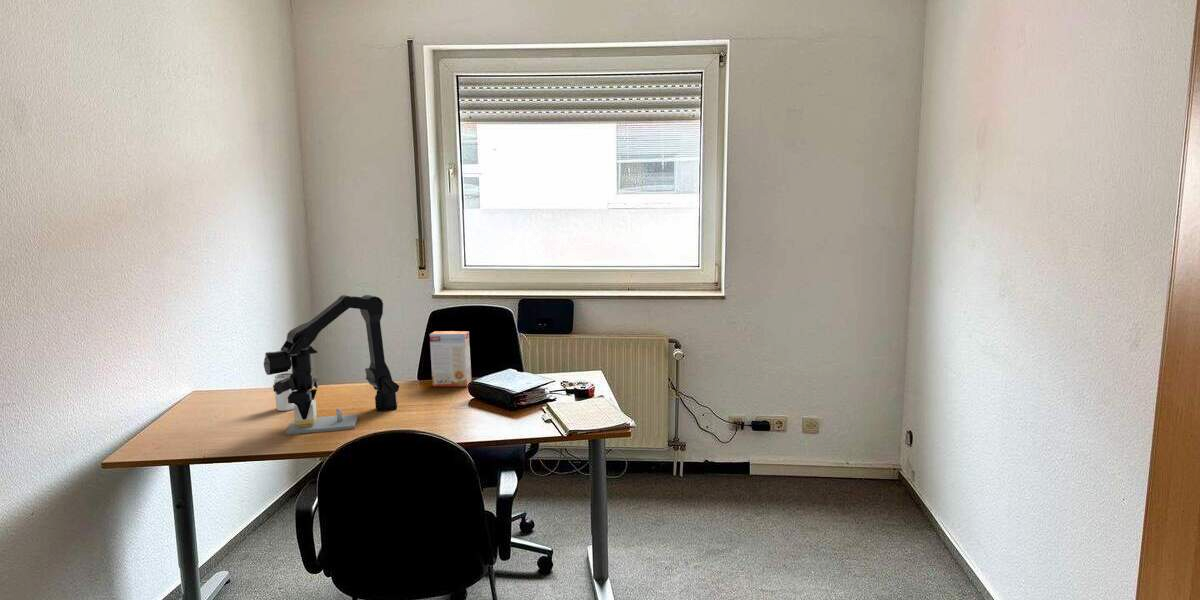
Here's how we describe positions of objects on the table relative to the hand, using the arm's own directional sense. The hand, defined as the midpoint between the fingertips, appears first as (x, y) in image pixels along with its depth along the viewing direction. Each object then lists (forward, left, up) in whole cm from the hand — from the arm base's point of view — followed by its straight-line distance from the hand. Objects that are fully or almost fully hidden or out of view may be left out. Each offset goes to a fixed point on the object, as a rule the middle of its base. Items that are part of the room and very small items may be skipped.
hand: (306, 416), depth 213 cm
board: (-5, 0, -4) cm, 6 cm away
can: (+10, -23, -4) cm, 25 cm away
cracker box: (-47, -36, -4) cm, 59 cm away
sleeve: (0, 0, -2) cm, 2 cm away
